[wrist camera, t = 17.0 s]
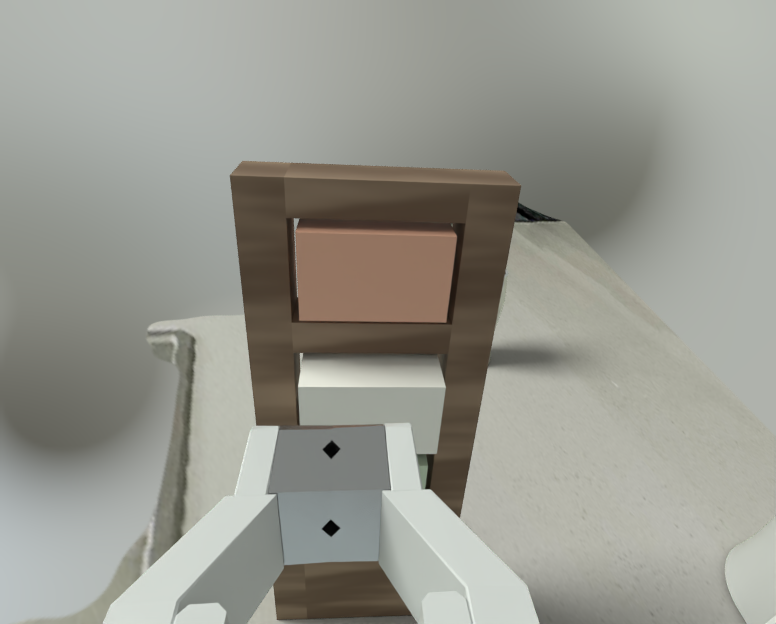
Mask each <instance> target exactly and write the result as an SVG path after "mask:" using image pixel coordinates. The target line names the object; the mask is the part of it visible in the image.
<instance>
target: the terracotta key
mask: <svg viewBox="0 0 776 624" xmlns="http://www.w3.org/2000/svg"><path fill="white" fill-rule="evenodd" d="M456 241H457V235H456V234H455V232H454V230H453V228H452V226H451V224H450V223H438V222H404V221H370V220H336V219H302V218H300V219H299V222H298V225H297V229H296V254H297V255H296V256H297V278H298V302H299V321H367V322H443V323H446V320H447V312H448V304H449V297H450V289H451V281H452V273H453V265H454V257H455V249H456Z"/></svg>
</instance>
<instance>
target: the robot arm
mask: <svg viewBox="0 0 776 624" xmlns="http://www.w3.org/2000/svg"><path fill="white" fill-rule="evenodd" d="M352 561H379V565H380V566H381V568H382V569H383V571H384V572H385V574H386V575H387V577H388V578H389V580H390V582H391V583H392V585H393V586H394V588H395V589H396V591H397V592H398V594H399V595H400V597H401V598H402V600H403V602H404V603H405V605H406V606H407V608H408V609H409V611H410V612H411V614H412V615H413V617H414V618H415V620H416V621H417V623H418V624H540V623H539V620H538V617H537V614H536V611H535V608H534V605H533V602H532V599H531V596H530V593H529V590H528V587H527V585H526V584H525V583H524V582H523V581H522V580H521V579H520V578H519V577H518V576H517V575H516V574H515V573H514V572H513V571H512V570H511V569H510V568H509V567H508V566H507V565H506V564H505V563H504V562H503V561H502V560H501V559H500V558H499V557H498V556H497V555H496V554H495V553H494V552H493V551H492V550H491V549H490V548H489V547H488V546H487V545H486V544H485V543H484V542H483V541H482V540H481V539H480V538H479V537H478V536H477V535H476V534H475V533H474V532H473V531H472V530H471V529H470V528H469V527H468V526H467V525H466V524H465V523H464V522H463V521H462V520H461V519H460V518H459V517H458V516H457V515H456V514H455V513H454V512H453V511H452V510H451V509H450V508H449V507H448V506H447V505H446V504H445V503H444V502H443V501H442V500H441V499H440V498H439V497H438V496H437V495H436V494H435V493H434V492H433V491H432V490H431V489H423V487H422V481H421V476H420V470H419V464H418V458H417V453H416V447H415V441H414V435H413V429H412V426H411V424H410V423H385V424H384V425H383V424H362V425H281V426H253V427H252V429H251V431H250V433H249V437H248V441H247V445H246V449H245V453H244V457H243V461H242V465H241V469H240V473H239V478H238V482H237V486H236V490H235V494H234V496H225V497H224V498H223V499H222V500H221V501H220V502H219V503H218V504H217V505H216V506H214V507H213V508H212V509H211V510H210V511H209V512H208V513H207V514H206V515H205V516H204V517H203V518H202V519H201V520H200V521H199V522H198V523H197V524H196V525H194V526H193V527H192V528H191V529H190V530H189V531H188V532H187V533H186V534H185V535H184V536H183V537H182V538H181V539H180V540H179V541H178V542H177V543H176V544H174V545H173V546H172V547H171V548H170V549H169V550H168V551H167V552H166V553H165V554H164V555H163V556H162V557H161V558H160V559H159V560H158V561H157V562H156V563H154V564H153V565H152V566H151V567H150V568H149V569H148V570H147V571H146V572H145V573H144V574H143V575H142V576H141V577H140V578H139V579H138V580H137V581H135V582H134V583H133V584H132V585H131V586H130V587H129V588H128V589H127V590H126V591H125V592H124V593H123V594H122V595H121V596H120V597H119V598H118V599H117V600H115V601H114V602H113V603H112V604H111V605H110V608H109V610H108V612H107V615H106V617H105V620H104V622H103V624H247V622H248V621H249V619H250V618H251V617H252V615H253V614H254V612H255V611H256V609H257V608H258V606H259V605H260V603H261V602H262V600H263V599H264V597H265V596H266V594H267V593H268V591H269V590H270V588H271V587H272V585H273V584H274V583H275V581H276V580H277V578H278V577H279V575H280V574H281V572H282V571H283V569H284V565H294V564H308V563H322V562H352ZM725 578H726V583H727V586H728V589H729V592H730V594H731V597H732V599H733V601H734V603H735V605H736V607H737V608H738V610H739V612H740V613H741V615H742V617H743V618H744V620H745V622H746V623H747V624H776V515H775V516H774V517H773V518H772V519H771V520H770V521H769V522H768V523H767V524H766V525H765V526H764V527H763V528H762V529H761V530H759V531H758V532H757V533H756V534H754V535H753V536H752V537H750V538H749V539H747V540H746V541H744V542H742V543H740V544H738V545H737V546H735V547H734V548H733V549H732V550H731V551H730V553H729V554H728V556H727V559H726V562H725Z"/></svg>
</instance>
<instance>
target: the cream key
mask: <svg viewBox="0 0 776 624" xmlns="http://www.w3.org/2000/svg"><path fill="white" fill-rule="evenodd" d="M445 390H446V386H445V382H444V378H443V374H442V371H441V367H440V363H439V359H438V355H437V354H389V353H303V359H302V365H301V371H300V377H299V384H298V397H299V418H300V425H362V424H383V425H384V424H385V423H410V424H411V426H412V429H413V435H414V441H415V447H416V453H417V454H437V449H438V441H439V434H440V427H441V419H442V412H443V405H444V397H445Z"/></svg>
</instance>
